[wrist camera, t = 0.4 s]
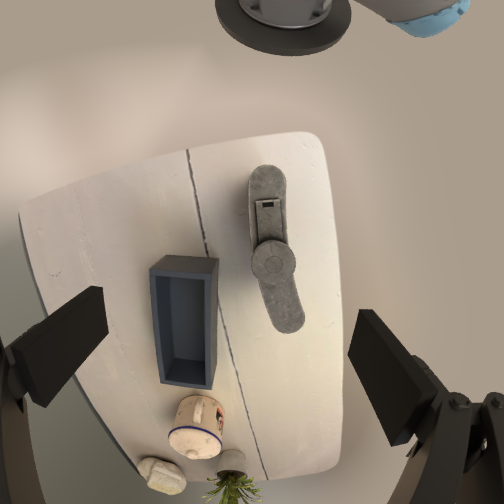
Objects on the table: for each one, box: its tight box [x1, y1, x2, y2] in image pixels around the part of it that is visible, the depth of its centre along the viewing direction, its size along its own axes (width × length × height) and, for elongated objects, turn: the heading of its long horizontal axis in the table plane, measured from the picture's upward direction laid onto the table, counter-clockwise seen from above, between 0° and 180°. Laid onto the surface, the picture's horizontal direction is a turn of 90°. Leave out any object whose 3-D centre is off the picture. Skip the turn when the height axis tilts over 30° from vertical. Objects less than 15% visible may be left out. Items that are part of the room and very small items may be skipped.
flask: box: [248, 165, 305, 334], centre depth 29 cm, size 4×14×18 cm, turn 10°
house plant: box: [203, 450, 261, 504], centre depth 41 cm, size 14×14×16 cm
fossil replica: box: [137, 457, 186, 495], centre depth 47 cm, size 12×8×10 cm
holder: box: [149, 255, 219, 390], centre depth 37 cm, size 18×8×7 cm, turn 176°
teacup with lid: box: [168, 396, 224, 459], centre depth 39 cm, size 12×9×12 cm
